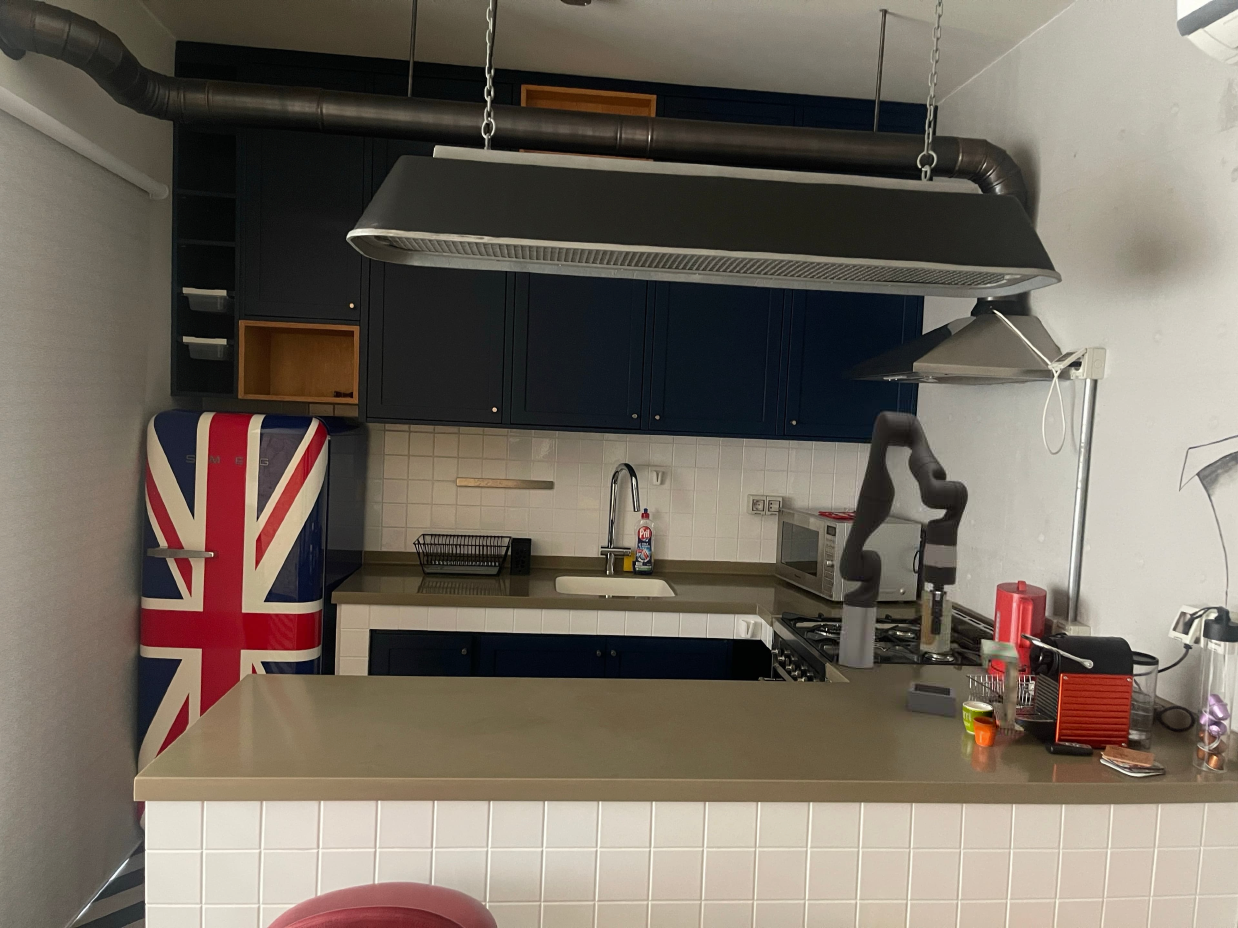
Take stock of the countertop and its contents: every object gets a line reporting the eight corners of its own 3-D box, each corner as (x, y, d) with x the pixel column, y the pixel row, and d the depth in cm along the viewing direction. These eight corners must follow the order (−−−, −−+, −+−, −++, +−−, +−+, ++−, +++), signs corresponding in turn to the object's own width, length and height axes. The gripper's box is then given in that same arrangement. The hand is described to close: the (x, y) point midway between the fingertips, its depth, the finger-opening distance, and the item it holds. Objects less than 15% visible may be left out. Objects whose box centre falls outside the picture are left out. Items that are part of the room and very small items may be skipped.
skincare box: (933, 647, 211) (937, 597, 211) (950, 651, 207) (953, 600, 207) (918, 649, 207) (922, 598, 207) (935, 653, 203) (938, 601, 203)
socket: (907, 709, 204) (908, 690, 204) (909, 699, 214) (910, 681, 214) (954, 717, 200) (955, 697, 200) (954, 706, 210) (955, 687, 210)
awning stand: (979, 724, 196) (984, 652, 196) (977, 704, 213) (981, 639, 213) (1025, 731, 192) (1030, 658, 192) (1019, 710, 209) (1023, 644, 209)
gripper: (924, 559, 215) (920, 624, 215) (922, 564, 202) (918, 634, 202) (956, 562, 212) (952, 628, 212) (957, 567, 199) (952, 638, 199)
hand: (935, 631), depth 207 cm, fingers closed on skincare box, 7 cm apart
